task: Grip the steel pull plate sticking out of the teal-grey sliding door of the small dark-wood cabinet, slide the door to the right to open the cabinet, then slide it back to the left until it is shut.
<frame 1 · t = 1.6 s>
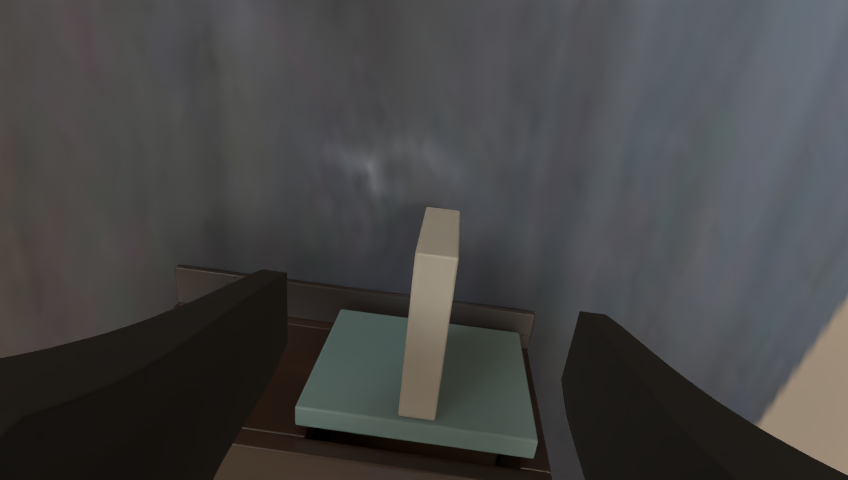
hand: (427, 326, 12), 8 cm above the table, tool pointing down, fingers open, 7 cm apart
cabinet: (348, 399, 24), on the table
door: (430, 306, 17), point 4 cm above the table, slide at 0.0 cm
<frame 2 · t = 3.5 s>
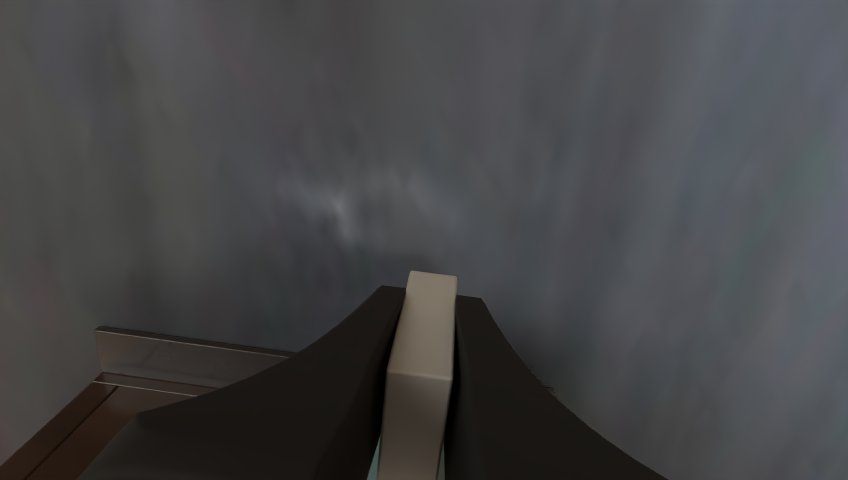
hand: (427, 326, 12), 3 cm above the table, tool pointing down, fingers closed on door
door: (416, 406, 12), point 4 cm above the table, slide at 0.0 cm, touching gripper
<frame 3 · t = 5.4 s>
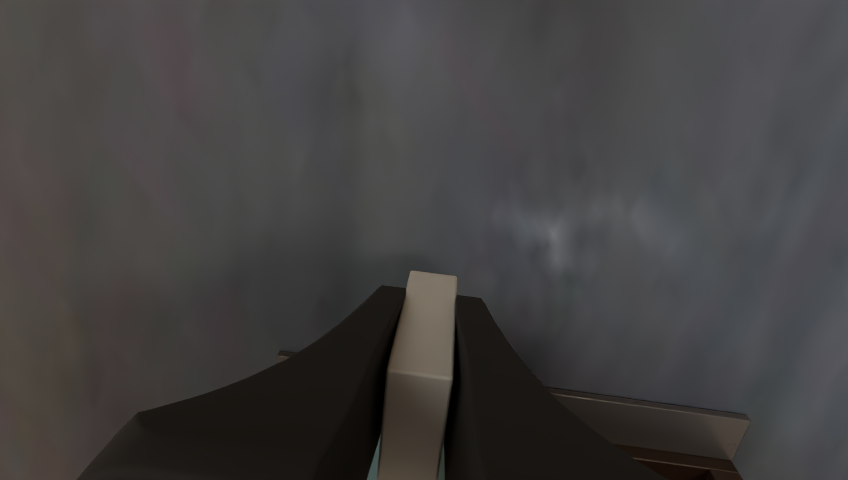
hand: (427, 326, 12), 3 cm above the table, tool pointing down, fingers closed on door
door: (417, 406, 12), point 4 cm above the table, slide at 6.5 cm, touching gripper
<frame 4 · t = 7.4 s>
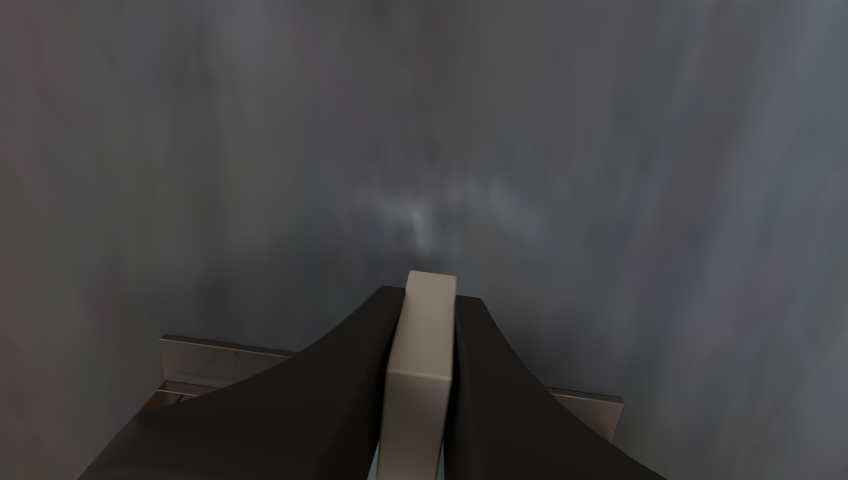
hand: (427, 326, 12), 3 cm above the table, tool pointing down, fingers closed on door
door: (416, 406, 12), point 4 cm above the table, slide at 2.4 cm, touching gripper
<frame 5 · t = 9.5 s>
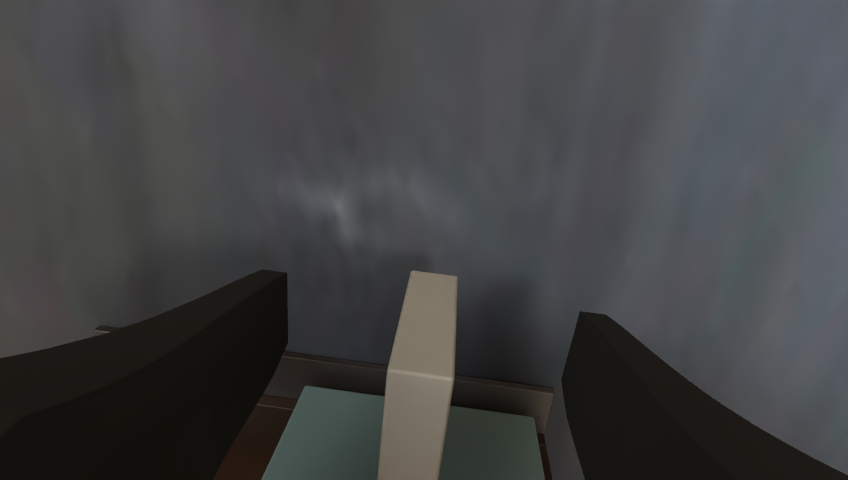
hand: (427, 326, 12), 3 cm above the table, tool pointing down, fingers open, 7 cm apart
door: (417, 406, 12), point 4 cm above the table, slide at 0.0 cm
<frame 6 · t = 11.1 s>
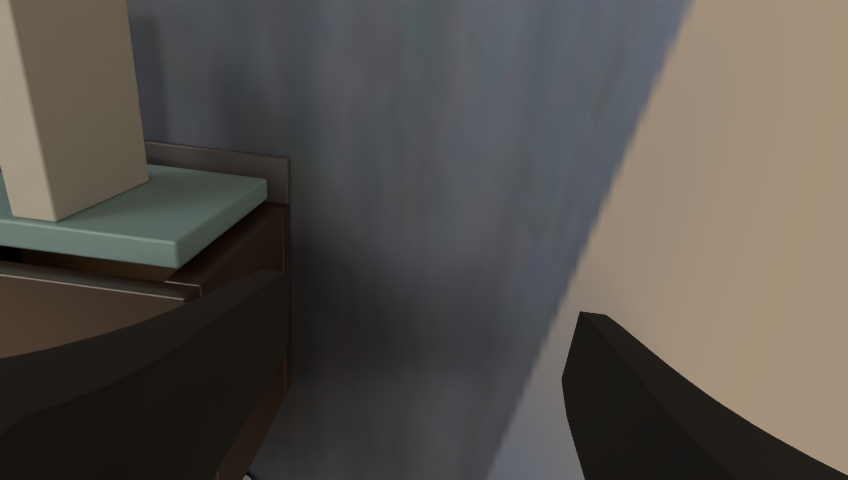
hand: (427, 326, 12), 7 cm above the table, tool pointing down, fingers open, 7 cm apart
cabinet: (110, 277, 21), on the table
door: (96, 107, 14), point 4 cm above the table, slide at 0.0 cm
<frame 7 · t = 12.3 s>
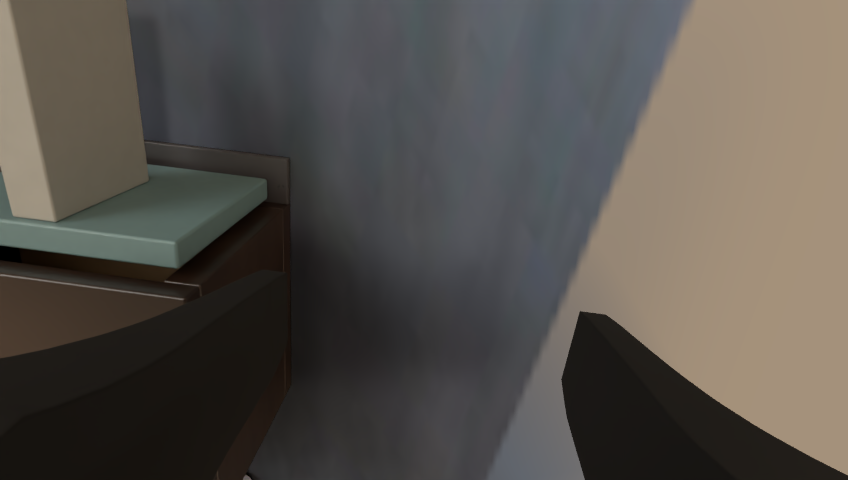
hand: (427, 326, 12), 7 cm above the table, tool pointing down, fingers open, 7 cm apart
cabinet: (110, 277, 21), on the table
door: (96, 107, 14), point 4 cm above the table, slide at 0.0 cm
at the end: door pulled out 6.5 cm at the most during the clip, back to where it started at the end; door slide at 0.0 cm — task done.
